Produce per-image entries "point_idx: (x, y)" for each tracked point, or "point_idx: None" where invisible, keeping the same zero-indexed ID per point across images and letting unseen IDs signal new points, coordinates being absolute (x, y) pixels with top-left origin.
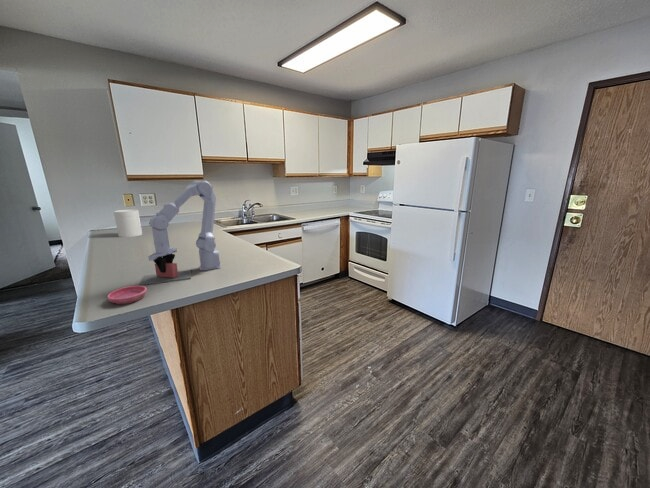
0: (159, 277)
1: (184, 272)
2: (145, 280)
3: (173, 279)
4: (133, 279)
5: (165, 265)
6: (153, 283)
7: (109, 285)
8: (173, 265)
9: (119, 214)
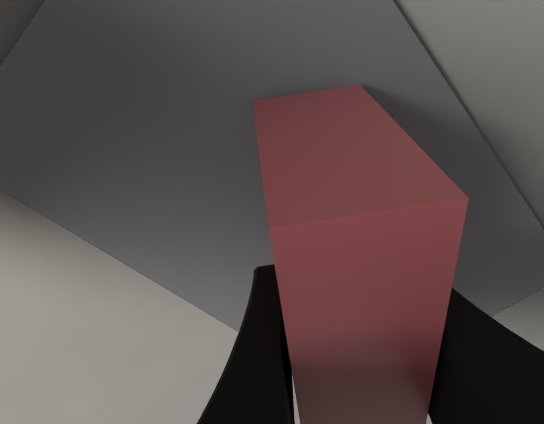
0: None
1: (83, 154)
2: None
3: (381, 54)
4: None
5: (433, 328)
6: (518, 191)
7: None
8: (393, 194)
9: None
